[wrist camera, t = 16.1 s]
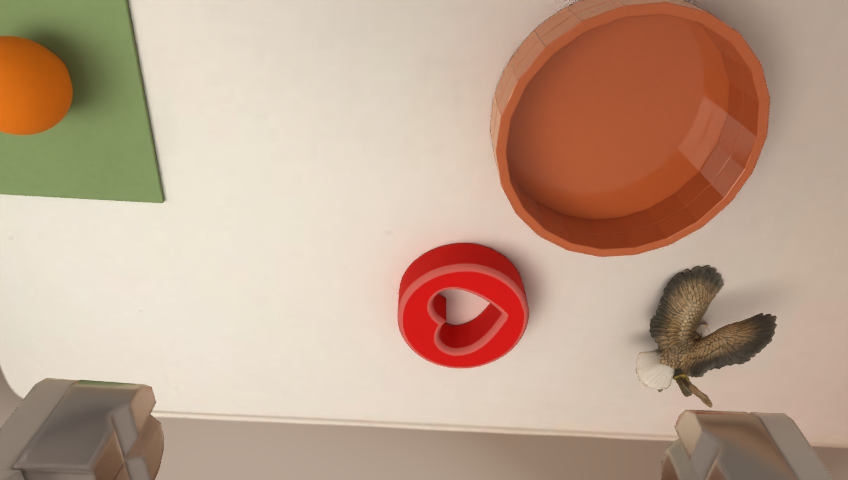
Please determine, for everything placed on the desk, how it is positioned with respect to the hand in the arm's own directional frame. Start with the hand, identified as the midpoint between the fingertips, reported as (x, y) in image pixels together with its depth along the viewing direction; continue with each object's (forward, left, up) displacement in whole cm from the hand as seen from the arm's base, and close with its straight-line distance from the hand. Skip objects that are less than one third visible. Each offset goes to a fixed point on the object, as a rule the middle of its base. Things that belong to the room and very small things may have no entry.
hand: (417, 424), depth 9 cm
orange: (-12, -21, -31) cm, 39 cm away
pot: (+12, +6, -31) cm, 34 cm away
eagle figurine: (+30, +3, -31) cm, 44 cm away
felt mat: (-12, -21, -31) cm, 39 cm away
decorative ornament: (+18, -10, -31) cm, 37 cm away
